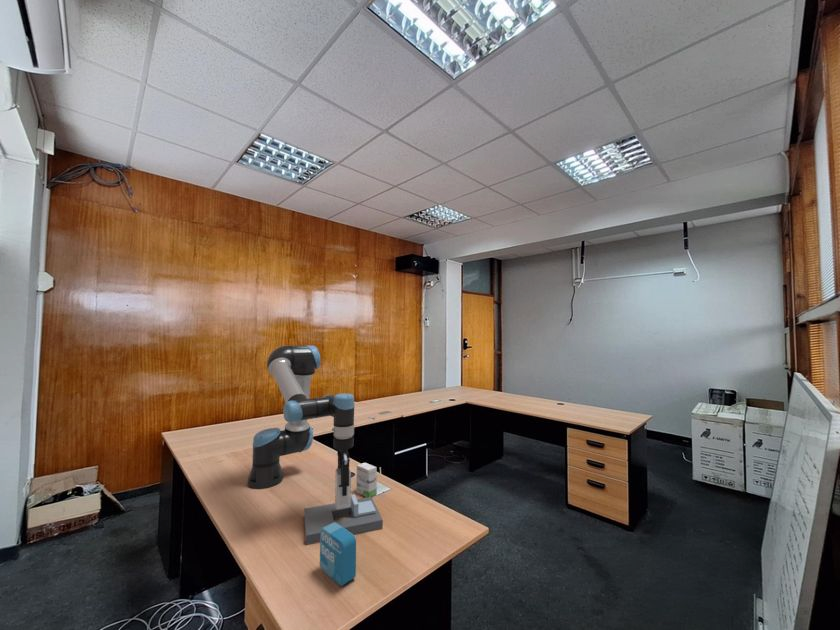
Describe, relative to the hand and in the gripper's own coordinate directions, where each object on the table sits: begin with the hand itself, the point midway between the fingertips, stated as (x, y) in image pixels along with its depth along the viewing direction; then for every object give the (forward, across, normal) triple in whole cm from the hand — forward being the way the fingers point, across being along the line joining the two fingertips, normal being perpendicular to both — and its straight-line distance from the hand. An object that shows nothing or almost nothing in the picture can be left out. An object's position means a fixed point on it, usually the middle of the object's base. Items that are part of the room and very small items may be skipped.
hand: (342, 500), depth 123 cm
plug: (+2, 0, 0) cm, 2 cm away
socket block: (+8, 0, 0) cm, 8 cm away
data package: (+8, +26, -5) cm, 28 cm away
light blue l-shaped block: (+5, 0, +8) cm, 9 cm away
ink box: (+8, -19, +13) cm, 25 cm away
